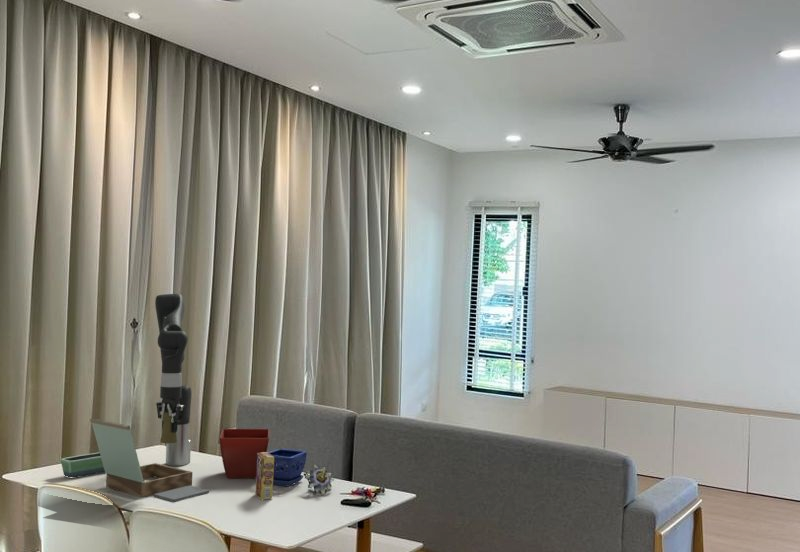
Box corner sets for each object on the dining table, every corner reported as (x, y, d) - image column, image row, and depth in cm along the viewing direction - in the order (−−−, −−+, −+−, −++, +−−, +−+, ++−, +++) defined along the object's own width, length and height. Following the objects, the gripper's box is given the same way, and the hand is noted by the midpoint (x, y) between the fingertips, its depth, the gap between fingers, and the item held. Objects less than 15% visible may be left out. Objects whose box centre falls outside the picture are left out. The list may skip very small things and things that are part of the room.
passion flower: (321, 508, 283) (311, 486, 277) (303, 497, 291) (292, 475, 285) (342, 487, 290) (333, 465, 283) (323, 477, 297) (314, 455, 291)
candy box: (273, 499, 275) (274, 456, 275) (261, 500, 273) (263, 457, 273) (266, 493, 283) (267, 451, 283) (255, 494, 281) (256, 452, 281)
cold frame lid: (92, 418, 280) (89, 419, 279) (129, 425, 268) (127, 426, 267) (106, 472, 285) (104, 473, 284) (143, 481, 273) (141, 483, 272)
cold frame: (154, 475, 303) (155, 463, 303) (192, 485, 291) (192, 471, 291) (106, 486, 285) (106, 473, 285) (143, 497, 273) (143, 483, 273)
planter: (123, 465, 320) (124, 448, 320) (133, 468, 315) (133, 450, 315) (59, 476, 298) (59, 458, 299) (68, 480, 294) (69, 461, 294)
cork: (162, 440, 284) (163, 410, 284) (179, 440, 284) (180, 410, 285) (158, 443, 278) (159, 412, 278) (175, 443, 278) (176, 413, 279)
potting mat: (189, 487, 287) (189, 485, 287) (209, 492, 281) (209, 490, 281) (153, 496, 274) (154, 494, 274) (174, 501, 268) (174, 499, 268)
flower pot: (260, 484, 294) (261, 453, 294) (278, 477, 307) (279, 447, 307) (290, 489, 289) (291, 457, 289) (307, 481, 302) (308, 451, 302)
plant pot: (267, 480, 301) (268, 437, 301) (218, 481, 298) (219, 437, 298) (268, 469, 320) (269, 428, 320) (221, 469, 317) (222, 428, 317)
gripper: (191, 386, 281) (190, 432, 280) (167, 382, 289) (165, 428, 288) (175, 387, 275) (173, 435, 274) (150, 384, 283) (148, 430, 282)
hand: (169, 431), depth 281 cm, fingers closed on cork, 4 cm apart
